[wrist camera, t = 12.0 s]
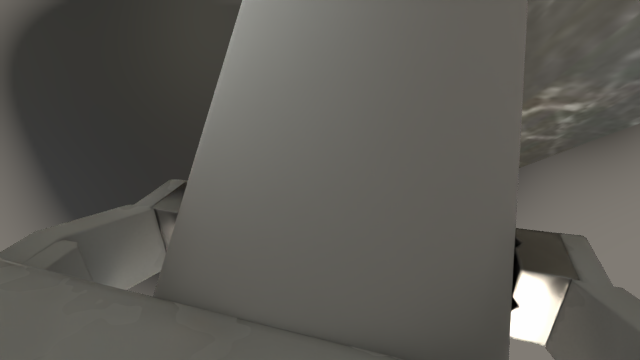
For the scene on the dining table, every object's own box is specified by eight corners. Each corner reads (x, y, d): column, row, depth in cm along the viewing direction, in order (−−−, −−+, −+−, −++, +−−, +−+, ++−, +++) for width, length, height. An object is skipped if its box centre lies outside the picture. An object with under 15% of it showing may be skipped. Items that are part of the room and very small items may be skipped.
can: (611, -64, 8) (626, 602, 5) (423, 84, 15) (381, 401, 12) (295, -245, 6) (10, 626, 3) (247, 18, 13) (142, 373, 10)
